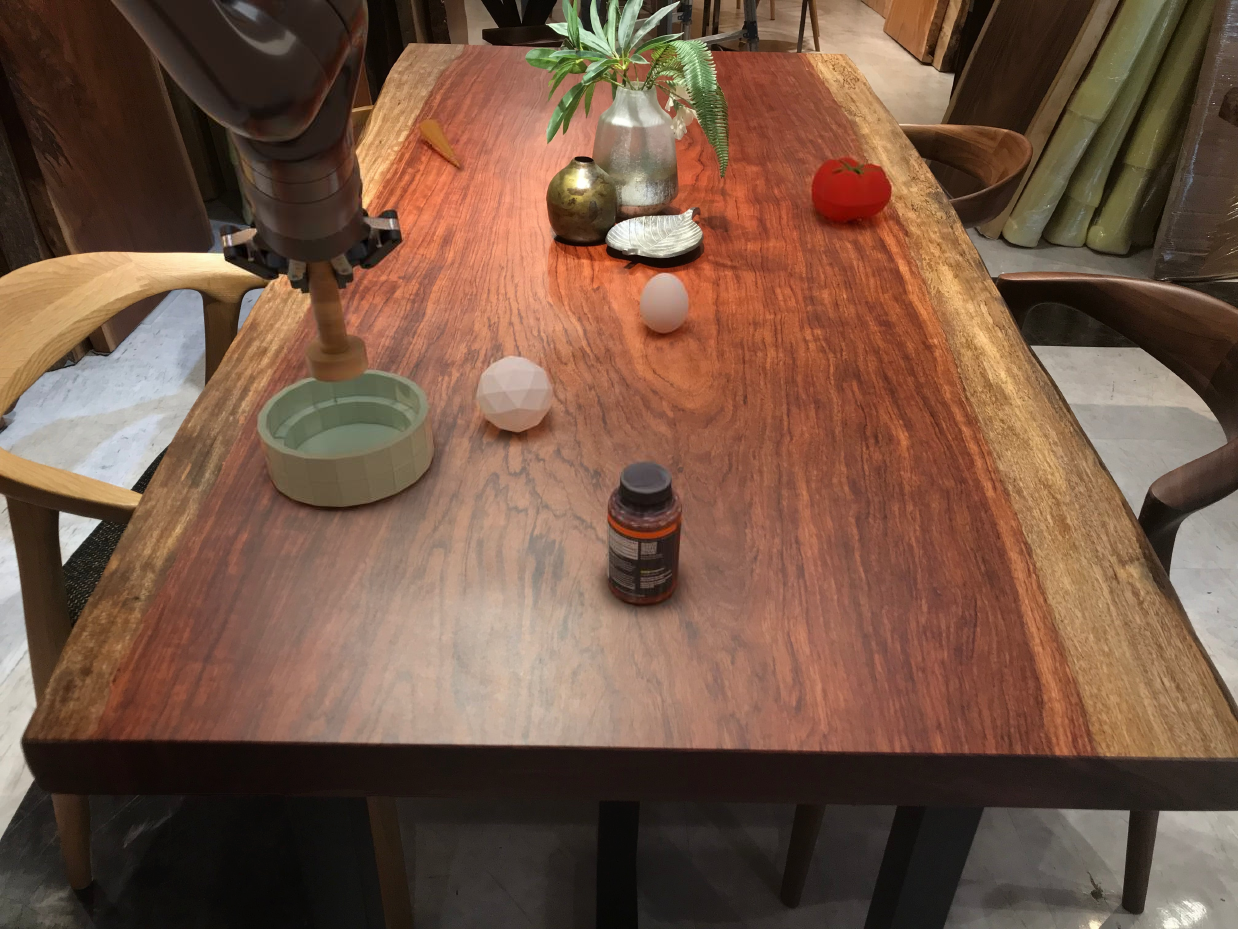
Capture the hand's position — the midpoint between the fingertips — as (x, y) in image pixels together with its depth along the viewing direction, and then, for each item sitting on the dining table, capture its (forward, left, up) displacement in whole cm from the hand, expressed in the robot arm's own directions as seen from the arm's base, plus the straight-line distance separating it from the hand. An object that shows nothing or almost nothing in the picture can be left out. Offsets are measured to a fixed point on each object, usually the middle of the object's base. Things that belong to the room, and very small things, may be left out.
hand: (322, 280), depth 77 cm
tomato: (+36, +87, -20) cm, 96 cm away
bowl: (0, 0, -19) cm, 19 cm away
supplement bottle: (+32, -6, -20) cm, 38 cm away
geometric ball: (+12, +12, -20) cm, 26 cm away
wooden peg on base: (+1, -2, -7) cm, 8 cm away
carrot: (-40, +90, -20) cm, 100 cm away
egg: (+20, +38, -20) cm, 47 cm away
